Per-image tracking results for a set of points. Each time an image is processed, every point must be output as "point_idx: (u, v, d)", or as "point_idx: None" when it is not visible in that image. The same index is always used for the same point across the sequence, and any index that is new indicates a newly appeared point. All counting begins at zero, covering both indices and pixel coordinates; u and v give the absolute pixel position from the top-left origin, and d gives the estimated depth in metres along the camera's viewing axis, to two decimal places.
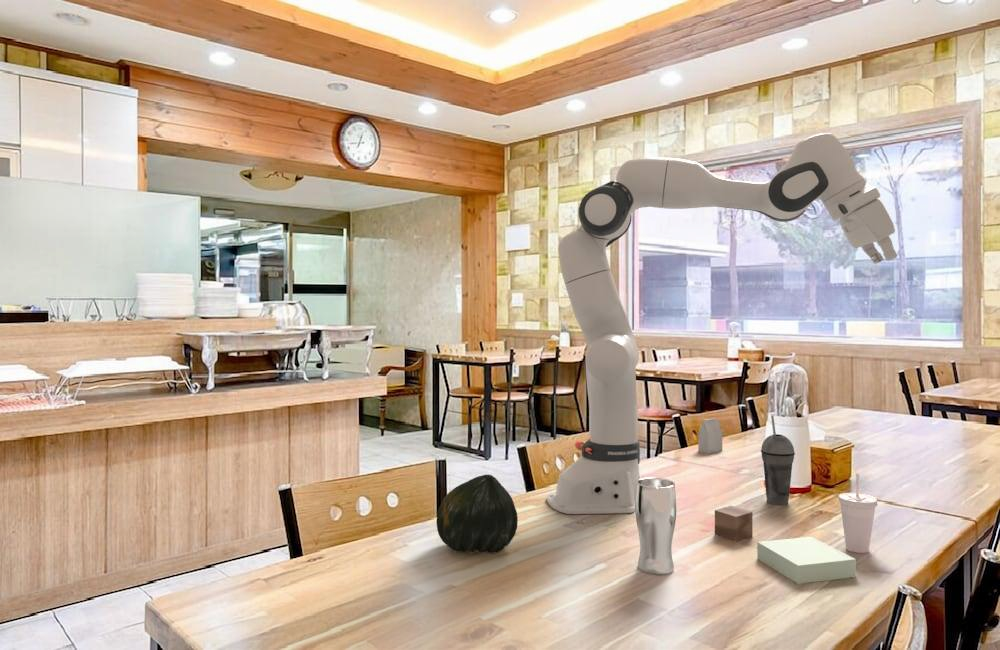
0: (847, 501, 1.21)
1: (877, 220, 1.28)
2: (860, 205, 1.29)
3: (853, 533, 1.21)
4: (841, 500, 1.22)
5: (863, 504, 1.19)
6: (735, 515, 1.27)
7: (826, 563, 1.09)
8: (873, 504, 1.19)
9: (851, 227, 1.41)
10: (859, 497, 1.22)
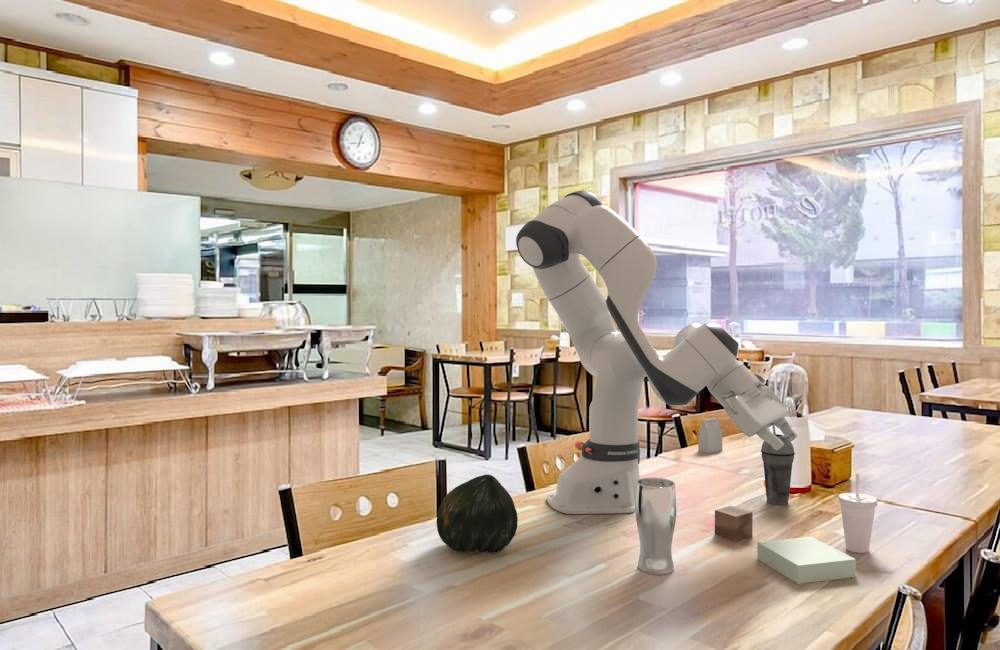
0: (847, 501, 1.21)
1: None
2: None
3: (853, 533, 1.21)
4: (841, 500, 1.22)
5: (863, 504, 1.19)
6: (735, 515, 1.27)
7: (826, 563, 1.09)
8: (873, 504, 1.19)
9: (754, 404, 1.30)
10: (859, 497, 1.22)
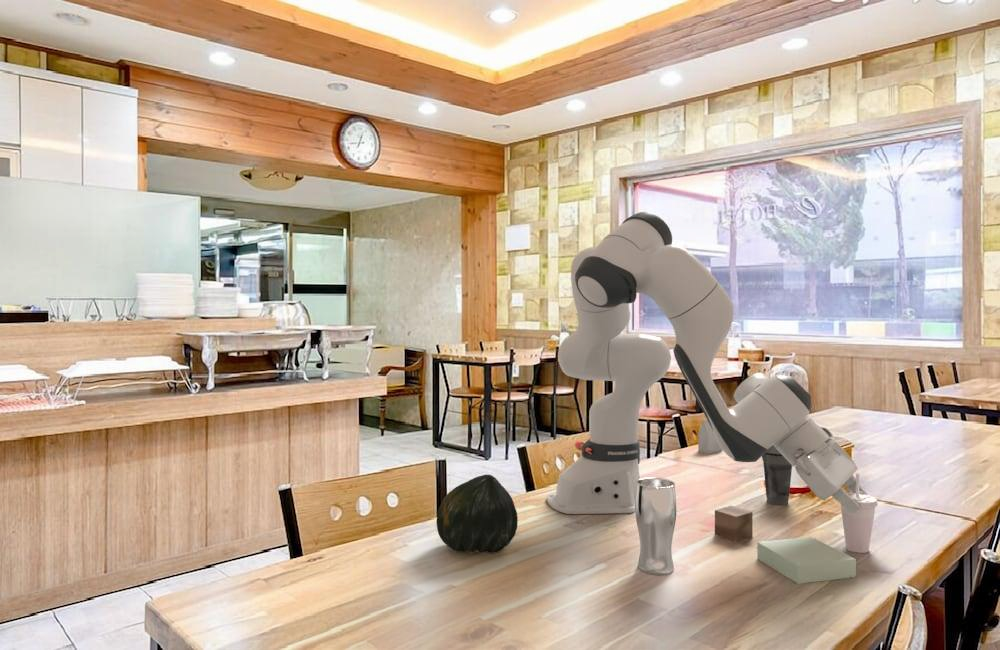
0: None
1: None
2: None
3: (853, 533, 1.21)
4: None
5: (863, 504, 1.19)
6: (735, 515, 1.27)
7: (826, 563, 1.09)
8: (873, 504, 1.19)
9: (825, 462, 1.22)
10: (859, 497, 1.22)
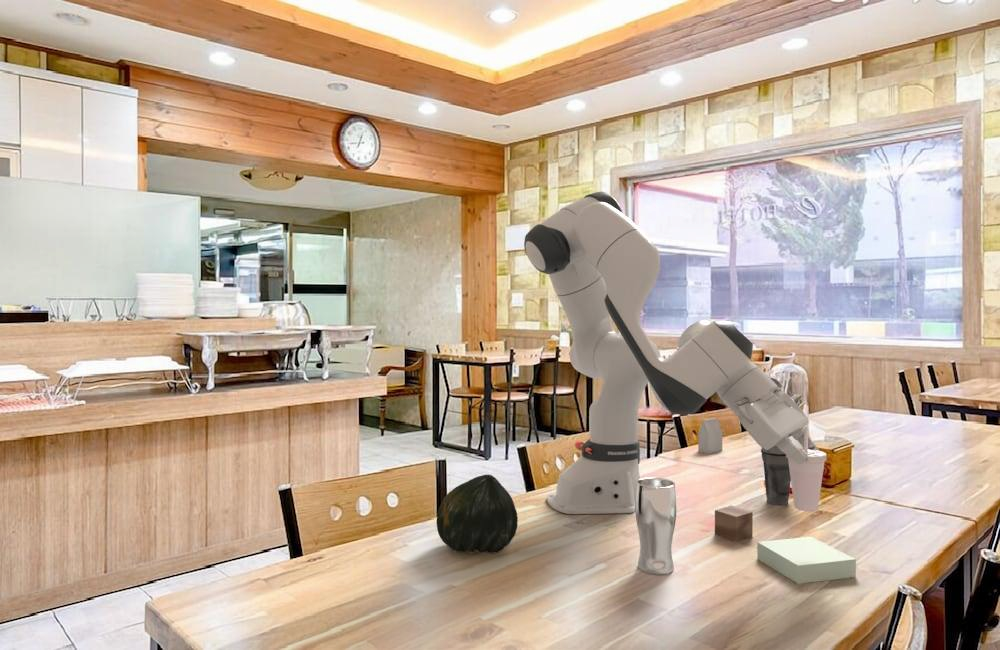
0: None
1: None
2: None
3: (801, 490, 1.12)
4: None
5: (811, 458, 1.11)
6: (736, 515, 1.27)
7: (826, 563, 1.09)
8: (821, 458, 1.11)
9: (771, 412, 1.14)
10: (807, 452, 1.13)
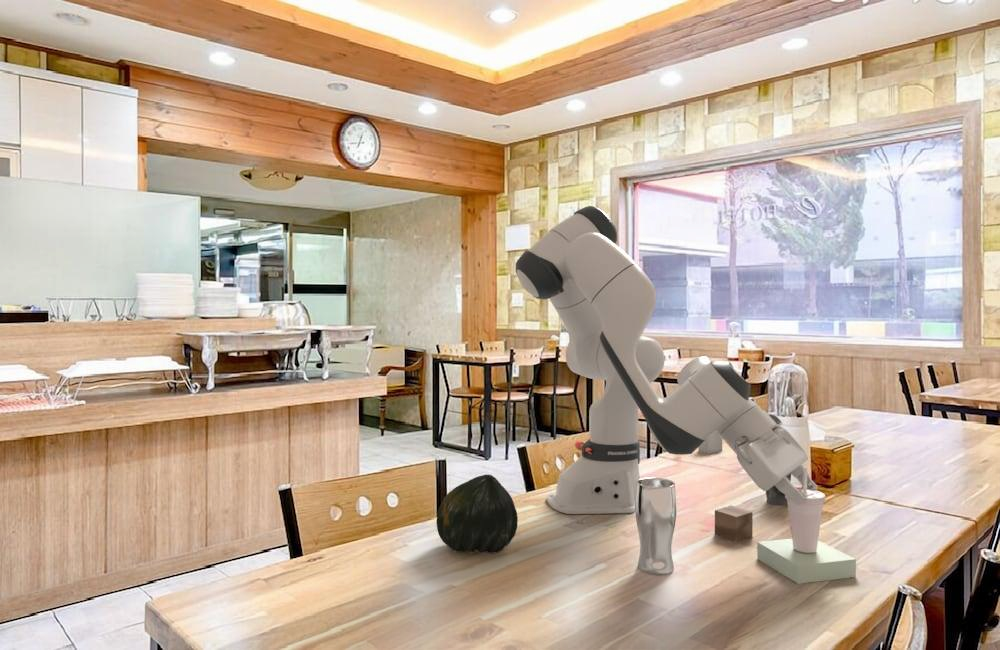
0: None
1: None
2: None
3: (800, 531, 1.12)
4: (787, 496, 1.14)
5: (809, 500, 1.11)
6: (736, 515, 1.27)
7: (826, 563, 1.09)
8: (820, 500, 1.11)
9: (770, 451, 1.14)
10: (806, 493, 1.13)
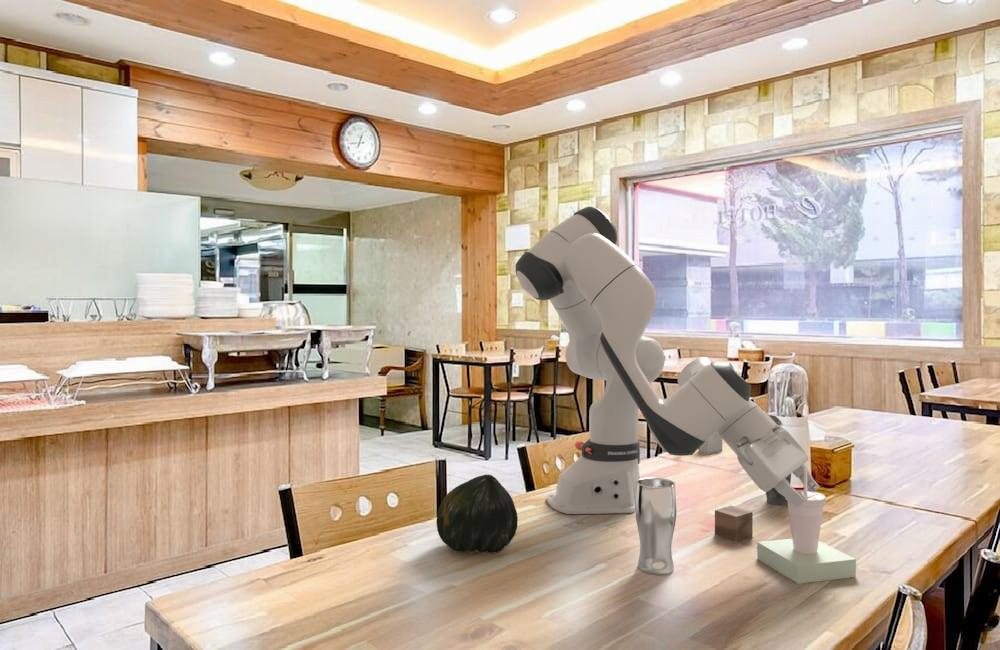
0: None
1: None
2: None
3: (800, 533, 1.12)
4: None
5: (810, 502, 1.11)
6: (736, 515, 1.27)
7: (826, 563, 1.09)
8: (821, 502, 1.11)
9: (770, 452, 1.14)
10: (807, 494, 1.13)
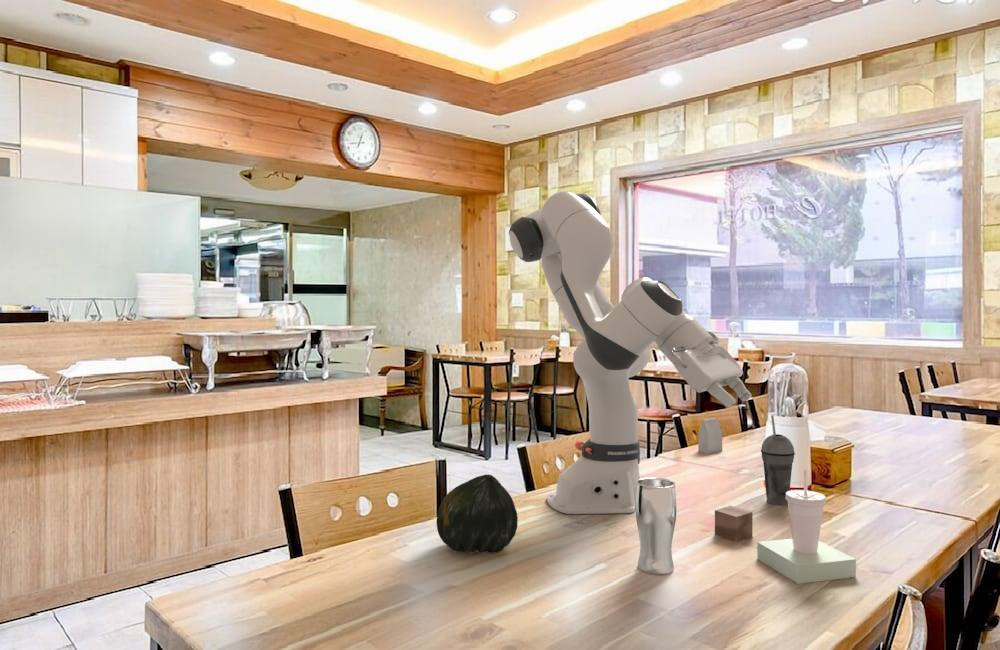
0: (794, 499, 1.12)
1: None
2: None
3: (800, 533, 1.12)
4: (788, 498, 1.14)
5: (810, 502, 1.11)
6: (736, 515, 1.27)
7: (826, 563, 1.09)
8: (821, 502, 1.11)
9: (705, 359, 1.21)
10: (807, 494, 1.13)
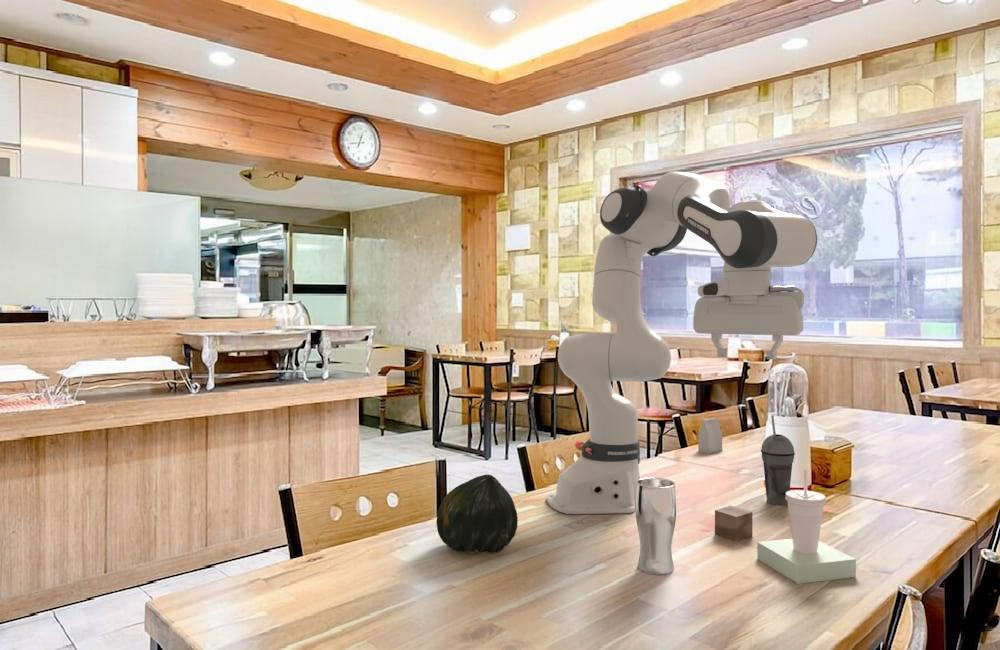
0: (794, 499, 1.12)
1: None
2: None
3: (800, 533, 1.12)
4: (788, 498, 1.14)
5: (810, 502, 1.11)
6: (736, 515, 1.27)
7: (826, 563, 1.09)
8: (821, 502, 1.11)
9: None
10: (807, 494, 1.13)
